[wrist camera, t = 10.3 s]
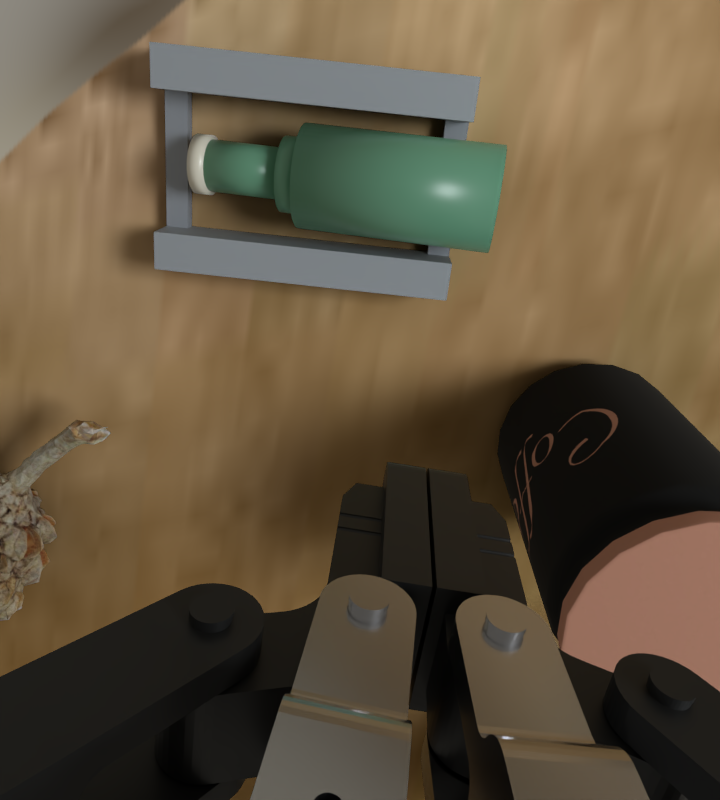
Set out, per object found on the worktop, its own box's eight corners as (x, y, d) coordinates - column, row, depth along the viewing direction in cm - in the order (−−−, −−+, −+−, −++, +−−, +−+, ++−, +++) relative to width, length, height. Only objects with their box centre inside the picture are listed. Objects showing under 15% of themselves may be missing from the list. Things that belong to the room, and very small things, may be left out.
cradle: (473, 80, 34) (480, 77, 32) (442, 287, 39) (446, 300, 36) (168, 48, 34) (149, 41, 32) (171, 258, 39) (154, 268, 36)
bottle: (509, 145, 30) (177, 108, 31) (488, 260, 32) (177, 219, 33) (504, 144, 34) (216, 112, 36) (486, 245, 36) (214, 210, 38)
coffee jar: (557, 325, 39) (678, 472, 23) (701, 406, 41) (914, 599, 24) (463, 464, 43) (507, 676, 27) (598, 532, 45) (720, 774, 28)
